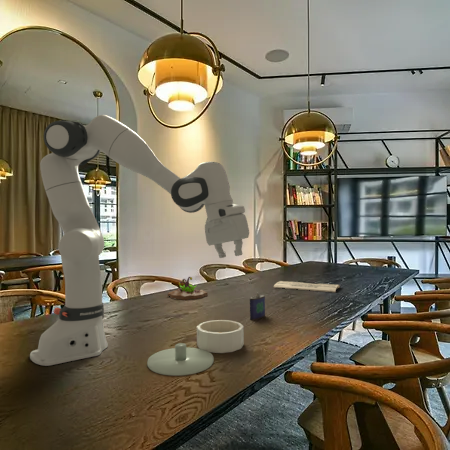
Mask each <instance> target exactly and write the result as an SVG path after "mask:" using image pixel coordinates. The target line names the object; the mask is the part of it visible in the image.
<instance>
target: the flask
mask: <svg viewBox="0 0 450 450" xmlns="http://www.w3.org/2000/svg"><path fill="white" fill-rule="evenodd" d="M265 316H266V296H265V295H261V292H260V293H259V292H256V294H255V296H251V297H249V317H250V319H249V320H250V321H257V320H260V319H262V318H265Z"/></svg>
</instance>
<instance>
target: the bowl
mask: <svg viewBox="0 0 450 450" xmlns="http://www.w3.org/2000/svg"><path fill="white" fill-rule="evenodd" d="M244 328H245V327H244V325H243V324H242V323H240V322H239V321H235V320H228V319H218V320H217V319H216V320H207V321H204V322H200V323H199V324H197V326H196V346H197V348H198V349H203V350H206V351H208V352H210V353H214V354H215V353H216V354H225V353H233V352H235V351H238V350H241V349H242V348H243V346H244V343H245V339H244V338H245V336H244V332H245V331H244V330H245V329H244ZM218 332H222V333H218Z"/></svg>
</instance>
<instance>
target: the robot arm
mask: <svg viewBox="0 0 450 450" xmlns="http://www.w3.org/2000/svg"><path fill="white" fill-rule="evenodd" d="M43 142H44V145H45V147H46V148H47V149H48V150H49V151H50V153H48V154H46V155H45V156H43V158H42V159H41V160H40V163H39V168H40V175H41V179H42V183H43V184H42V185H43V187H44V190H45V194H46V197H47V199H48V203H49V205H50V209H51V211H52V214H53V216H54V218H55V219H56V221H57V222H58V224H59V226H60V227H61V230H62V231H63V233H64V234H63V235H62V237H61V238H60V240H59V241H58V252H59V254H60V258H61V259H60V260H61V266H62V272H63V276H64V289H65V290H64V291H65V292H64V293H65V295H64V296H65V298H64V300H65V305H64V306H63V307H62V308H60V307H55V308H54V309H53V313H54V315H56V316H57V315H58V316H59V317H58V320H57V321H55V322H54V323H53V324H52V325H50V327H48V328H47V329H46V330H45V331H44V332H42V333H41V335H40V337H39V340H38V347H37V349H35V350H34V349H33V350H32V351H31V352H30V354H29V360H30V361H32V362H33V363H34V364H36V365H40V366H45V367H47V366H48V367H50V366H53V365H58V364H62V363H63V364H64V363H67V362H71V361H72V362H74V361H78V360H81V359H88V358H91V357H97V356H100V355H101V354H102V352H103V351H104V350H106V349H107V347H108V346H109V344H108V341H107V337H106V333H105V327H104V317H105V316H104V315H105V308H104V307H105V306H104V302H103V278H102V273H101V265H100V255H101V254H102V253H103V250H104V249H105V239H104V236H103V233H102V231H101V229H100V226H99V224H98V221H97V219H96V217H95V214H94V213H93V211H92V208H91V206H90V203H89V201H88V200H89V199H88V197H87V195H86V191H85V188H84V186H83V182H82V180H81V179H82V178H81V177H80V174H79V166H81V167H82V166H85V165H86V164H88V163H89V162H90V161H92V160H94V159H96V158H97V157H98V156H99V155H100V154H101V153H103V154H105V155H106V156H107V157H108V158H110V159H111V160H112V161H114V162H116V163H117V164H119V165H120V166H121V167H123V168H126V169H127V170H131V171H132V172H135V173H137V174H139V175H141V176H143V177H145V178H148V179H149V180H151V181H153V182H154V183H155V184H157V185H158V186H160V187H161V188H162V189H163V190H165V191H166V192H167V193H168V194H170V196H171V199H172V202H173V203H175V204H176V205H177V206H178V207H179V208H180V210H182V211H183V212H185V213H189V214H192V213H193V214H194V213H197V212H199V211H200V210H202V209H203V208H204V209H205V214H206V217H207V218H206V220H205V224H204V234H205V240H206V243H207V245H208V246H214V248H215V250H216V252H217V253H218V258H219V259H224V258H226V257H227V255H226V251H224V248H223V244H224V243H229V242H233V244H234V245H235V247H234V250H233V252H234V256H236V257H239V256H242V255H243V251H242V250H243V243H244V242H243V240H244V239H247V238H249V236H250V228H249V225H248V220H247V217H246V215H245V214H244V213H246V209H245V206H244V205H241V204H238V203H237V204H236V203H234V201H233V198H232V196H231V194H230V193H231V192H230V188H231V187H230V184H229V183H230V182H229V178H228V175H227V172H226V170H225V167H224V166H223V165H222V164H221V163H219V162H217V161H205V162H201V163H199V164H198V165H197V166H196V168H195V169H194V170H193V171H191V172H190V173H189V174H187V175H185V176H183V177H180V176H178V175H177V174H175V172H173V171H172V170H170V169H169V168H168V167H166V166H165V165H164V163H162V162H161V161H160V159H158V157H157V156H156V155H155V153H154V151H153V150H152V149H151V148H150V146H149V144H147V143H146V141H145V140H144V139H143V138H142V137H141V136H140V135H139V134H137V132H135V131H134V130H132V128H130V127H128V126H127V125H125V124H124V123H122V122H121V121H119V120H117V119H116V118H114V117H111V116H109V115H106V114H99V115H97V116H95V117H94V118H92V119H91V120H90V122H89V123H87V125H85V124H83V122H81V121H73V120H72V121H71V120H55V121H52V122H50V123H49V124H48V125H47V126H46V127H45V130H44V131H43Z"/></svg>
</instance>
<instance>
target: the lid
mask: <svg viewBox="0 0 450 450" xmlns="http://www.w3.org/2000/svg"><path fill="white" fill-rule="evenodd" d="M146 364H147V368H148V369H149V370H150V371H152V372H153V373H156V374H160V375H164V376H173V377H174V376H179V377H180V376H189V375H193V374H197V373H198V374H199V373H200V372H201V373H202V372H203V371H205V370H208V369H210V367H212V366H213V364H214V355H213V354H212V352H208V351H206V350H203V349H199V348H198V347H187V344H186V343H183V342H180V343H176V344H175V345H174V348H173V347H172V348H167V349H163V350H159V351H158V352H155V353H153V354H152V355H150V356H149V357H148V358H147V363H146Z"/></svg>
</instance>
